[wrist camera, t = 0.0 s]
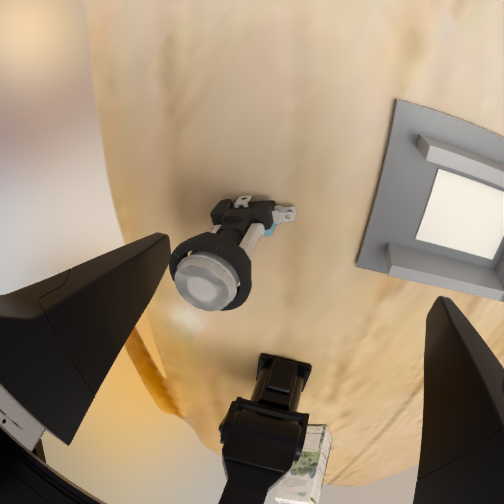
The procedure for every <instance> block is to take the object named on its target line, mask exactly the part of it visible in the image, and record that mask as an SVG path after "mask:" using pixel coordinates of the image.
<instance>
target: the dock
mask: <svg viewBox="0 0 504 504" xmlns="http://www.w3.org/2000/svg"><path fill="white" fill-rule="evenodd" d="M356 267H359V268H363V269H368V270H373V271H377V272H382V273H386V274H388V276H392V277H396V278H401V279H405V280H410V281H414V282H419V283H423V284H428V285H432V286H437V287H441V288H445V289H450V290H454V291H459V292H463V293H468V294H472V295H476V296H481V297H485V298H490V299H494V300H498V301H503V302H504V137H503V136H501V135H498V134H496V133H494V132H492V131H489V130H487V129H484V128H482V127H480V126H477V125H475V124H472V123H470V122H467V121H465V120H462V119H459V118H456V117H454V116H451V115H448V114H445V113H442V112H439V111H436V110H433V109H430V108H427V107H424V106H421V105H417V104H414V103H411V102H407V101H403V100H400V99H396V103H395V108H394V114H393V119H392V125H391V130H390V135H389V140H388V145H387V149H386V154H385V158H384V163H383V167H382V171H381V176H380V180H379V184H378V188H377V192H376V196H375V200H374V204H373V207H372V211H371V215H370V218H369V222H368V225H367V229H366V232H365V236H364V239H363V243H362V246H361V249H360V253H359V256H358V259H357V262H356Z"/></svg>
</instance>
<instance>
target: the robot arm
mask: <svg viewBox="0 0 504 504" xmlns="http://www.w3.org/2000/svg"><path fill="white" fill-rule="evenodd" d="M170 259H171V249H170V240H169V236H168V235H167V234H163V233H154V234H152V235H149V236H147V237H144V238H142V239H139V240H137V241H134V242H132V243H129V244H127V245H124V246H122V247H120V248H117V249H115V250H113V251H110V252H108V253H105V254H103V255H101V256H98V257H96V258H94V259H91V260H89V261H87V262H84V263H82V264H80V265H77V266H75V267H73V268H72V269H68V270H66V271H64V272H62V273H59V274H57V275H55V276H52V277H50V278H47V279H45V280H42V281H40V282H37V283H35V284H32V285H29V286H27V287H24V288H21V289H19V290H17V291H14V292H11V293H9V294H5V295H0V504H107V503H105V502H103V501H101V500H100V499H98V498H96V497H95V496H93V495H91V494H90V493H88V492H86V491H85V490H83V489H82V488H80V487H79V486H77V485H76V484H74V483H73V482H71V481H70V480H68V479H67V478H65V477H64V476H62V475H61V474H60V473H58V472H57V471H55V470H54V469H53V468H51V467H50V466H49V465H47V464H46V460H45V455H44V451H43V445H42V440H41V439H40V438H41V436H42V435H43V433H44V432H45V430H47V431H48V432H49V433H51V434H52V435H53V436H55V437H56V438H58V439H59V440H60V441H62V442H63V443H65V444H66V445H68V446H69V445H70V443H71V442H72V440H73V438H74V436H75V433H76V432H77V430H78V428H79V426H80V424H81V422H82V420H83V418H84V416H85V414H86V412H87V411H88V409H89V407H90V405H91V403H92V401H93V399H94V398H95V395H96V393H97V392H98V390H99V388H100V386H101V384H102V382H103V381H104V379H105V377H106V375H107V373H108V372H109V370H110V368H111V366H112V365H113V363H114V361H115V359H116V358H117V356H118V354H119V352H120V351H121V349H122V347H123V345H124V344H125V342H126V340H127V339H128V337H129V335H130V334H131V332H132V330H133V328H134V327H135V325H136V323H137V322H138V320H139V318H140V317H141V315H142V313H143V312H144V310H145V309H146V307H147V305H148V304H149V302H150V300H151V299H152V297H153V295H154V293H155V291H156V289H157V287H158V285H159V283H160V281H161V279H162V276H163V274H164V272H165V270H166V268H167V266H168V264H169V262H170ZM311 369H312V366H311V365H308V364H304V363H299V362H295V361H291V360H286V359H282V358H278V357H274V356H270V355H266V354H261V355H260V357H259V363H258V370H257V377H256V381H257V383H256V385H255V388H254V391H253V394H252V397H251V400H246V399H243V398H242V397H237V399H236V401H232V403H231V405H230V408H229V410H228V412H227V414H226V416H225V418H224V419H223V421H222V422H221V424H220V426H219V431H220V433H221V440H220V443H222V444H224V445H223V448H222V462H223V467H224V470H225V475H226V478H227V483H226V486H225V488H224V491H223V493H222V496H221V499H220V501H219V503H218V504H264V501H265V497H266V495H267V492H268V491H269V490H271V489H272V488H273V487H274V486H275V485H276V484H278V483H279V482H280V481H281V480H282V479H283V478H284V477H285V476H286V474H287V473H288V472H289V470H290V469H291V467H292V464H293V462H298V460H299V458H300V456H301V453H302V450H303V446H304V442H305V438H306V432H307V426H308V419H309V414H308V413H305V414H304V413H299V412H297V408H298V404H299V400H300V395H301V392H303V390H304V387H305V385H306V382H307V380H308V377H309V375H310V372H311ZM413 504H504V368H503V366H502V365H501V364H500V362H499V361H498V359H497V358H496V357H495V355H494V354H493V352H492V351H491V350H490V348H489V347H488V346H487V344H486V343H485V341H484V340H483V339H482V337H481V336H480V335H479V334H478V332H477V331H476V330H475V328H474V327H473V326H472V325H471V323H470V322H469V321H468V319H467V318H466V317H465V316H464V314H463V313H462V312H461V311H460V310H459V308H458V307H457V306H456V305H455V303H454V302H453V301H452V300H451V299H450V298H448V297H444V296H439V297H438V298H437V299H436V300H435V302H434V304H433V306H432V308H431V309H430V311H429V313H428V315H427V319H426V336H425V351H424V407H423V427H422V440H421V451H420V460H419V469H418V476H417V482H416V488H415V494H414V500H413Z"/></svg>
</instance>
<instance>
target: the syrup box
mask: <svg viewBox="0 0 504 504" xmlns="http://www.w3.org/2000/svg"><path fill="white" fill-rule="evenodd" d="M331 443H332V435H331V433H330V431H329V429H328V427H327V425H308V426H307V432H306V438H305V442H304V446H303V450H302V453H301V456H300V458H299V460H298V462H293V464H292V467H291V469H290V470H289V472H288V473H287V474H286V476H285V477H284V478H283V479H282V480H281V481H280V482H279V483H278V485H277V488H276V492H275V494H274V498H275V499H276V500H277V501H278V502H279V503H280V504H318V501H319V497H320V493H321V489H322V484H323V480H324V476H325V472H326V467H327V462H328V458H329V453H330V448H331Z"/></svg>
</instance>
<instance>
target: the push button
mask: <svg viewBox="0 0 504 504" xmlns="http://www.w3.org/2000/svg"><path fill="white" fill-rule="evenodd" d="M243 198H247V199H245V200H242V199H243ZM251 198H252V196H251V195H248V196H241V197H239V198H238V199H237V201H236V203H232V202H231V200H230V199H227V200H222V201H220V202H219V203H218V204H217V206H216V207H215V208H214V209H213V210H212V212H211V213H210V215H211V218H212V222H213V225H214V226H213V228H212V232H205V233H202V234H200V235H197V236H195V237H192V238H190V239H188V240H186V241H184V242H182V243H181V244H179V245H178V246H177V247H176V249H175V250H174V251H173V253H172V254H171V259H170V262H169V269H170V274H171V276H172V279H173V281H174V283H175V285H176V288H177V290H178V292H179V294H180V295H181V296H182V297H183V298H184V299H185V300H186V301H187V302H188V303H190V304H192V305H193V306H195V307H196V308H199V309H203V310H206V311H217V310H220V311H225V310H232V309H235V308H237V307H239V306H241V305H242V304H243V303H244V302H245V301H246V299H247V298H248V296H249V293H250V291H251V285H252V282H251V260H250V259H249V258H250V256H251V254H252V252H253V250H254V248H255V246H256V244H257V242H258V240H259V238H260V236H270V235H272V234H273V231H274V228H275V226H276V224H281V222H293V221H295V218H294V216H296V215H297V214H296V207H282V205H279V206H275V201H258V202H249V201H250V199H251ZM289 209H290V210H292V212H287V210H289ZM285 216H290V219H286V218H285ZM189 251H192V252H191V254H190V255H189V256H188V252H189ZM239 281H240V286H238V287H237V285H238V283H239Z"/></svg>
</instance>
